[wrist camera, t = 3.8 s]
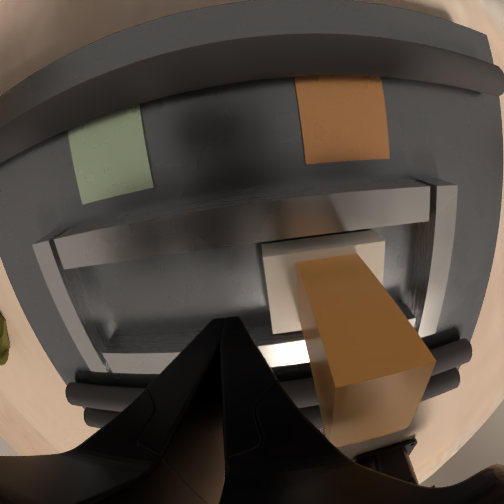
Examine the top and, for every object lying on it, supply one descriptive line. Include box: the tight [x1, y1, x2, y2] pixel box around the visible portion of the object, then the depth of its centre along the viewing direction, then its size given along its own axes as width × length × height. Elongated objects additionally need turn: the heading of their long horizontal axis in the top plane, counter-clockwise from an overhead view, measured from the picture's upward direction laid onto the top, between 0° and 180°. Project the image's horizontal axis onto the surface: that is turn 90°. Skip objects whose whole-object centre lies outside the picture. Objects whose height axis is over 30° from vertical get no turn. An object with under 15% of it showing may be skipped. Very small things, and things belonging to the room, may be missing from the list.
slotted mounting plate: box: [0, 33, 504, 428], centre depth 10 cm, size 22×17×1 cm
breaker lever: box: [262, 230, 436, 447], centre depth 8 cm, size 3×4×6 cm
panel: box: [0, 0, 503, 409], centre depth 11 cm, size 20×24×3 cm
